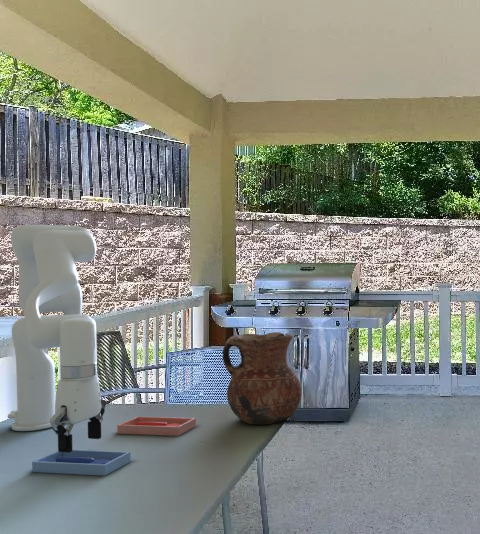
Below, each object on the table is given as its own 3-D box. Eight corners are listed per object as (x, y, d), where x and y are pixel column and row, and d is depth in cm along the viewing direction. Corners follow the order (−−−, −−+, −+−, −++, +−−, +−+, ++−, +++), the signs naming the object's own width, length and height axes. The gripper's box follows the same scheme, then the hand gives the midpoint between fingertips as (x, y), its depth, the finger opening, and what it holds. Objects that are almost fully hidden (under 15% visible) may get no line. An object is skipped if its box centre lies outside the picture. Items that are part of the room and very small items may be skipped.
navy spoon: (50, 466, 138) (49, 459, 138) (62, 460, 142) (62, 453, 142) (101, 468, 136) (101, 461, 136) (113, 462, 140) (112, 455, 140)
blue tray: (32, 472, 136) (31, 461, 136) (62, 458, 145) (61, 448, 145) (104, 475, 133) (104, 465, 133) (130, 461, 142) (130, 451, 142)
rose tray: (117, 433, 165) (117, 425, 165) (137, 424, 174) (137, 416, 174) (178, 435, 162) (178, 427, 162) (196, 426, 171) (195, 418, 171)
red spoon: (131, 429, 168) (131, 423, 167) (140, 425, 171) (139, 419, 171) (174, 430, 165) (174, 425, 165) (182, 426, 169) (182, 421, 169)
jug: (277, 406, 193) (276, 328, 192) (317, 417, 178) (315, 332, 177) (213, 420, 177) (211, 335, 177) (250, 434, 162) (248, 341, 162)
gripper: (90, 364, 149) (91, 433, 150) (35, 378, 132) (37, 456, 133) (117, 365, 148) (118, 434, 148) (66, 380, 131) (67, 458, 131)
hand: (80, 444), depth 140 cm, fingers open, 9 cm apart
